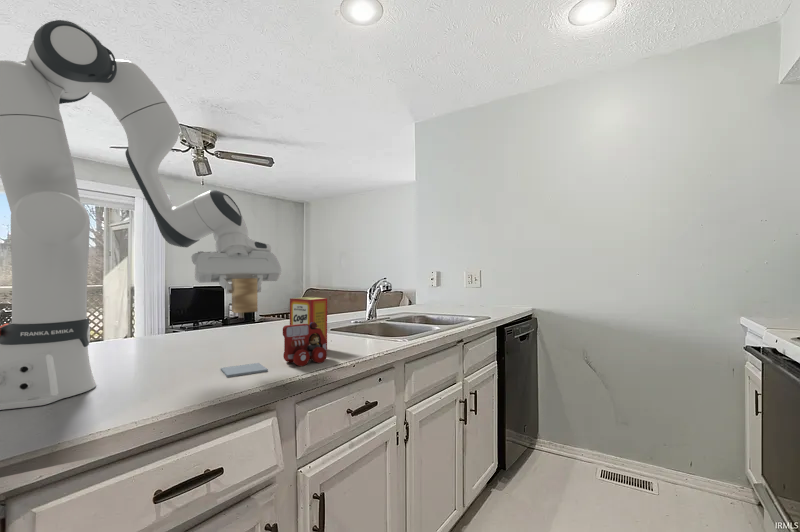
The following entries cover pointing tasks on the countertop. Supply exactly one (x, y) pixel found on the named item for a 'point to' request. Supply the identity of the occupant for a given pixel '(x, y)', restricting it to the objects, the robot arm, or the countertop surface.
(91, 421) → the countertop surface
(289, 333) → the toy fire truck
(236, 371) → the mat
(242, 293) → the block
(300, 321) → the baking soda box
